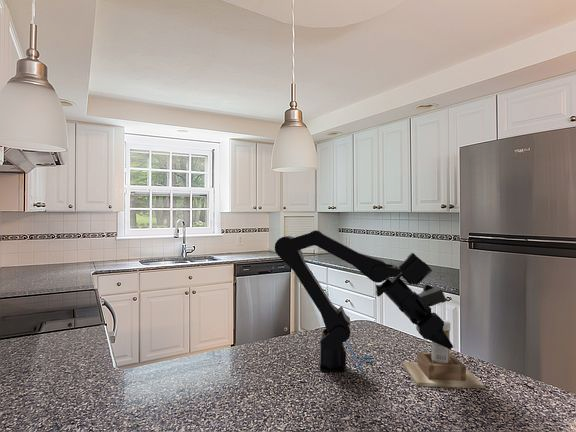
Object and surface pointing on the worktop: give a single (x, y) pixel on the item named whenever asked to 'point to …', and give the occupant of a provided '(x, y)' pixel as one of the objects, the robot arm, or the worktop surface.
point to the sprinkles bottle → (441, 348)
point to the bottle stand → (441, 373)
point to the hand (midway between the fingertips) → (446, 341)
